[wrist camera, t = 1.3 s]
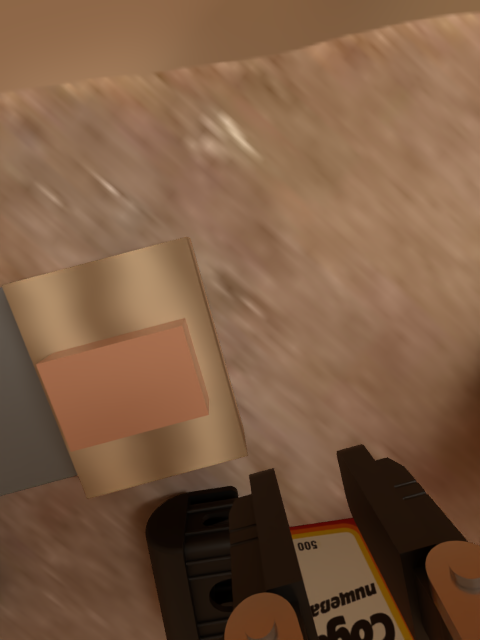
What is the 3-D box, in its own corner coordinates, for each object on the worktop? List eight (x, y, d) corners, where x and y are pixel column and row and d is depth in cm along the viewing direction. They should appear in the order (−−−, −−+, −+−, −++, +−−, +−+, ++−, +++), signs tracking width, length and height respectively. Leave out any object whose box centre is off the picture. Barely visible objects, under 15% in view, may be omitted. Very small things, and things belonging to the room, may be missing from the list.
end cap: (153, 491, 31) (136, 557, 25) (235, 479, 32) (241, 541, 25) (172, 587, 34) (161, 671, 27) (249, 575, 34) (257, 655, 27)
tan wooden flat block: (190, 237, 27) (186, 236, 23) (243, 428, 31) (247, 455, 27) (32, 279, 27) (1, 285, 23) (103, 466, 30) (87, 499, 27)
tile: (185, 317, 24) (182, 325, 22) (209, 399, 26) (209, 414, 23) (53, 352, 24) (35, 364, 22) (84, 432, 26) (70, 452, 23)
